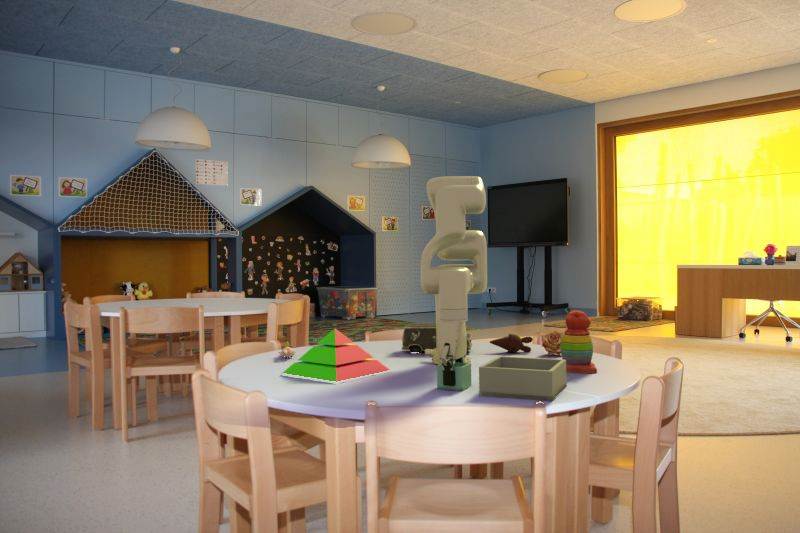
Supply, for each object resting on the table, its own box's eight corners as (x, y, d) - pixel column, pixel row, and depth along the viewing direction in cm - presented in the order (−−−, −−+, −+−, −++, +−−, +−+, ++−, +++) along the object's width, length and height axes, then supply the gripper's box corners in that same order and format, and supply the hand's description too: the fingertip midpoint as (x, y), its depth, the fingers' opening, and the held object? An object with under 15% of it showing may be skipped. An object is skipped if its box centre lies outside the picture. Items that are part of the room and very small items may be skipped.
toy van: (405, 350, 240) (405, 323, 239) (473, 350, 235) (472, 323, 235) (400, 354, 229) (400, 326, 229) (471, 355, 225) (470, 326, 225)
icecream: (492, 336, 224) (535, 339, 224) (489, 328, 231) (531, 331, 231) (489, 355, 225) (532, 358, 226) (487, 346, 233) (528, 349, 233)
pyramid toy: (335, 365, 211) (334, 322, 211) (394, 373, 195) (394, 326, 195) (275, 378, 192) (274, 330, 191) (336, 388, 176) (335, 335, 176)
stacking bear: (597, 373, 186) (597, 311, 186) (561, 373, 188) (560, 311, 188) (594, 367, 197) (593, 308, 196) (560, 366, 199) (559, 308, 198)
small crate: (437, 388, 169) (436, 366, 169) (446, 383, 175) (446, 361, 175) (462, 390, 166) (462, 367, 166) (471, 385, 172) (471, 363, 172)
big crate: (479, 395, 160) (478, 367, 160) (499, 381, 177) (498, 356, 177) (552, 401, 153) (552, 371, 153) (566, 386, 169) (566, 359, 169)
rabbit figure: (278, 359, 231) (278, 358, 217) (277, 342, 232) (278, 340, 218) (296, 358, 233) (297, 357, 218) (295, 341, 234) (297, 340, 219)
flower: (536, 347, 228) (536, 330, 223) (561, 341, 228) (562, 324, 224) (547, 366, 220) (547, 349, 215) (573, 360, 221) (573, 343, 216)
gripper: (451, 312, 180) (452, 376, 180) (427, 318, 164) (428, 388, 164) (477, 312, 177) (478, 377, 177) (455, 319, 161) (456, 390, 161)
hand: (454, 382), depth 171 cm, fingers closed on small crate, 7 cm apart
